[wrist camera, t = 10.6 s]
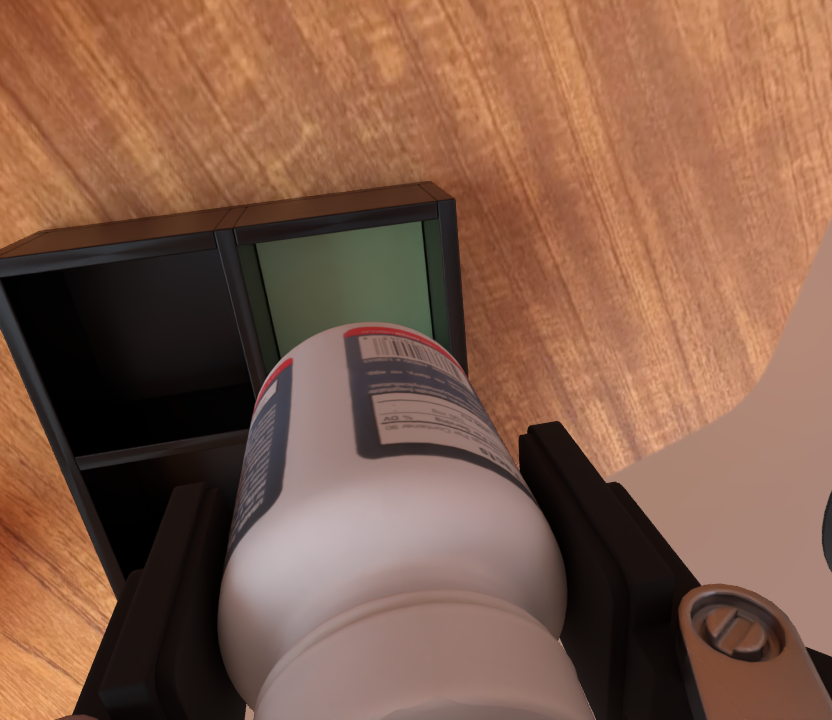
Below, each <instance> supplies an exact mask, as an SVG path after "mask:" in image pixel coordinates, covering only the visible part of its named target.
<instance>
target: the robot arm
mask: <svg viewBox="0 0 832 720" xmlns="http://www.w3.org/2000/svg"><path fill="white" fill-rule="evenodd" d="M519 466H520V473H521V475H522V477H523V479H524V480H525V482H526V484H527V485H528V487H529V489H530V490H531V492H532V494H533V496H534V498H535V499H536V501H537V503H538V505H539V506H540V508H541V510H542V511H543V513H544V515H545V517H546V519H547V521H548V523H549V525H550V528H551V530H552V532H553V534H554V536H555V538H556V541H557V543H558V545H559V548H560V551H561V554H562V557H563V560H564V565H565V570H566V577H567V589H568V594H567V609H566V614H565V620H564V625H563V628H562V631H561V634H560V637H559V638H560V640H561V642H562V644H563V647H564V649H565V651H566V653H567V655H568V656H569V658H570V660H571V661H572V663H573V665H574V667H575V670H576V673H577V677H578V680H579V682H580V684H581V687H582V689H583V691H584V693H585V696H586V698H587V700H588V702H589V705H590V707H591V709H592V711H593V713H594V716H595V718H596V720H832V657H831V656H828V655H826V654H823V653H821V652H818V651H815V650H813V649H810V648H808V647H805V646H804V644H803V642H802V640H801V638H800V636H799V634H798V632H797V630H796V628H795V626H794V625H793V624H792V622H791V621H790V619H789V618H788V616H787V615H786V614H785V613H784V612H783V611H782V610H781V609H779V608H778V607H777V606H776V605H775V604H774V603H772V602H771V601H769V600H768V599H766V598H764V597H762V596H761V595H759V594H757V593H755V592H753V591H750V590H747V589H744V588H741V587H738V586H732V585H725V584H709V585H703V586H701V585H700V583H699V582H698V581H697V579H696V578H695V577H694V576H693V574H692V573H691V572H690V570H689V569H688V568H687V567H686V565H685V564H684V563H683V562H682V560H681V559H680V558H679V557H678V555H677V554H676V553H675V552H674V550H673V549H672V548H671V546H670V545H669V544H668V543H667V541H666V540H665V539H664V538H663V536H662V535H661V534H660V532H659V531H658V530H657V529H656V527H655V526H654V525H653V524H652V522H651V521H650V520H649V518H648V517H647V516H646V515H645V514H644V512H643V511H642V510H641V508H640V507H639V506H638V505H637V503H636V502H635V501H634V500H633V498H632V497H631V496H630V495H629V493H628V492H627V491H626V489H625V488H624V487H623V486H622V485H621V484H620V483H617V482H611V483H606V482H605V481H604V480H603V478H602V477H601V476H600V474H599V473H598V472H597V470H596V469H595V468H594V466H593V465H592V464H591V462H590V461H589V460H588V458H587V457H586V456H585V454H584V453H583V452H582V450H581V449H580V448H579V446H578V445H577V444H576V442H575V441H574V440H573V438H572V437H571V436H570V434H569V433H568V432H567V430H566V429H565V428H564V426H563V425H562V424H561V423H560V422H559V421H554V422H548V423H542V424H537V425H531V426H529V427H528V430H527V434H524V435H520V436H519ZM231 522H232V517H231V514H230V510H229V507H228V504H227V500H226V497H225V494H224V491H223V489H222V488H221V487H219V488H212V485H211V484H210V482H208V481H206V482H200V483H194V484H189V485H183V486H177V487H175V488H174V490H173V492H172V494H171V497H170V500H169V503H168V505H167V508H166V511H165V513H164V516H163V519H162V521H161V524H160V527H159V529H158V532H157V535H156V537H155V540H154V543H153V546H152V548H151V551H150V554H149V556H148V559H147V562H146V564H145V567H144V569H139V570H134V571H133V572H132V573H130V574H129V576H128V578H127V580H126V581H125V584H124V586H123V589H122V591H121V594H120V596H119V599H118V601H117V604H116V606H115V609H114V611H113V614H112V616H111V619H110V621H109V624H108V626H107V629H106V631H105V634H104V636H103V639H102V641H101V644H100V646H99V649H98V651H97V654H96V656H95V659H94V661H93V664H92V666H91V669H90V671H89V674H88V676H87V679H86V681H85V684H84V686H83V689H82V691H81V694H80V696H79V699H78V701H77V704H76V706H75V709H74V711H73V714H72V715H70V716H65V717H62V718H59V719H56V720H245V712H246V702H245V701H244V700H243V698H242V697H241V696H240V695H239V693H238V692H237V691H236V689H235V687H234V685H233V683H232V681H231V680H230V678H229V676H228V673H227V671H226V668H225V665H224V663H223V660H222V656H221V652H220V647H219V642H218V632H217V622H218V605H219V597H220V587H221V580H222V574H223V568H224V562H225V557H226V552H227V546H228V541H229V531H230V528H231Z"/></svg>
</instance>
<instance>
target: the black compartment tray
mask: <svg viewBox="0 0 832 720" xmlns="http://www.w3.org/2000/svg"><path fill="white" fill-rule="evenodd" d="M360 322H383V323H392V324H396V325H401V326H404V327H407V328H410V329H413V330H416V331H418V332H420V333H422V334H424V335H426V336H428V337H430V338H431V339H433V340H434V341H435V342H437V343H438V344H440V345H441V346H442V347H443V348H445V349H446V350H447V351H448V352H449V353H450V354H451V355H452V356H453V357H454V359H455V360H456V361H457V362H458V364H459V365H460V366H461V368H462V369H463V371H464V373H465V374H466V376H467V378H468V365H467V351H466V338H465V324H464V310H463V297H462V283H461V269H460V256H459V242H458V228H457V215H456V201H455V198H453V197H452V196H451V195H449V194H448V193H446V192H445V191H444V190H442V189H441V188H439V187H438V186H437V185H435V184H434V183H433V182H431V181H426V182H418V183H411V184H403V185H395V186H387V187H380V188H372V189H364V190H356V191H348V192H341V193H333V194H325V195H317V196H310V197H302V198H294V199H286V200H278V201H271V202H263V203H255V204H247V205H239V206H232V207H224V208H216V209H208V210H201V211H193V212H185V213H177V214H169V215H162V216H154V217H146V218H138V219H131V220H123V221H115V222H107V223H99V224H92V225H84V226H76V227H68V228H61V229H53V230H45V231H38V232H36V233H34V234H32V235H30V236H28V237H26V238H23V239H21V240H19V241H17V242H15V243H13V244H10V245H8V246H6V247H4V248H2V249H0V329H1V331H2V333H3V336H4V338H5V340H6V343H7V345H8V347H9V350H10V352H11V354H12V357H13V359H14V361H15V364H16V366H17V368H18V371H19V373H20V375H21V378H22V380H23V382H24V385H25V387H26V389H27V392H28V394H29V396H30V399H31V401H32V403H33V406H34V408H35V410H36V413H37V415H38V417H39V420H40V422H41V424H42V427H43V429H44V431H45V434H46V436H47V438H48V440H49V443H50V445H51V447H52V450H53V452H54V454H55V457H56V459H57V461H58V464H59V466H60V468H61V471H62V473H63V475H64V478H65V480H66V482H67V485H68V487H69V489H70V492H71V494H72V496H73V499H74V501H75V503H76V506H77V508H78V510H79V513H80V515H81V517H82V520H83V522H84V524H85V527H86V529H87V531H88V534H89V536H90V538H91V541H92V543H93V545H94V548H95V550H96V552H97V555H98V557H99V559H100V561H101V564H102V566H103V568H104V571H105V573H106V575H107V578H108V580H109V582H110V585H111V587H112V589H113V592H114V594H115V596H116V599H117V601H118V599H119V596H120V594H121V591H122V589H123V586H124V584H125V581H126V580H127V578H128V576H129V574H130V573H132V572H133V571H134V570H139V569H144V567H145V564H146V562H147V559H148V556H149V554H150V551H151V548H152V546H153V543H154V540H155V537H156V535H157V532H158V529H159V527H160V524H161V521H162V519H163V516H164V513H165V511H166V508H167V505H168V503H169V500H170V497H171V494H172V492H173V490H174V488H175V487H177V486H183V485H189V484H194V483H200V482H206V481H208V482H210V484H211V485H212V488H219V487H221V488H222V489H223V491H224V494H225V497H226V500H227V504H228V507H229V510H230V514H231V517H232V518H233V511H234V508H235V501H236V497H237V492H238V487H239V482H240V477H241V471H242V466H243V461H244V455H245V450H246V445H247V440H248V435H249V431H250V426H251V420H252V416H253V412H254V408H255V404H256V401H257V398H258V395H259V392H260V390H261V388H262V386H263V384H264V382H265V380H266V378H267V377H268V375H269V374H270V372H271V371H272V370H273V368H274V367H275V366H276V365H277V363H278V362H279V361H280V360H281V359H282V358H283V357H284V356H285V355H286V354H287V353H289V352H290V351H291V350H292V349H293V348H295V347H296V346H298V345H299V344H301V343H302V342H304V341H305V340H307V339H309V338H310V337H312V336H314V335H316V334H318V333H320V332H323V331H326V330H328V329H331V328H334V327H338V326H342V325H346V324H352V323H360ZM468 379H469V378H468Z"/></svg>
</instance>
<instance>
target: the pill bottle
mask: <svg viewBox="0 0 832 720" xmlns="http://www.w3.org/2000/svg"><path fill="white" fill-rule="evenodd" d="M567 594H568V589H567V577H566V570H565V565H564V560H563V557H562V554H561V551H560V548H559V545H558V543H557V541H556V538H555V536H554V534H553V532H552V530H551V528H550V525H549V523H548V521H547V519H546V517H545V515H544V513H543V511H542V510H541V508H540V506H539V505H538V503H537V501H536V499H535V498H534V496H533V494H532V492H531V490H530V489H529V487H528V485H527V484H526V482H525V480H524V479H523V477H522V475H521V473H520V472H519V470H518V468H517V466H516V464H515V462H514V461H513V459H512V457H511V455H510V454H509V452H508V450H507V448H506V446H505V445H504V443H503V441H502V439H501V437H500V435H499V434H498V432H497V430H496V428H495V427H494V425H493V423H492V421H491V419H490V418H489V416H488V414H487V412H486V410H485V409H484V407H483V405H482V403H481V401H480V400H479V398H478V396H477V394H476V392H475V390H474V388H473V387H472V385H471V383H470V381H469V379H468V378H467V376H466V374H465V373H464V371H463V369H462V368H461V366H460V365H459V364H458V362H457V361H456V360H455V359H454V357H453V356H452V355H451V354H450V353H449V352H448V351H447V350H446V349H445V348H443V347H442V346H441V345H440V344H438V343H437V342H435V341H434V340H433V339H431V338H430V337H428V336H426V335H424V334H422V333H420V332H418V331H416V330H413V329H410V328H407V327H404V326H401V325H396V324H392V323H383V322H360V323H352V324H346V325H342V326H338V327H334V328H331V329H328V330H326V331H323V332H320V333H318V334H316V335H314V336H312V337H310V338H309V339H307V340H305V341H304V342H302V343H301V344H299V345H298V346H296V347H295V348H293V349H292V350H291V351H290V352H289V353H287V354H286V355H285V356H284V357H283V358H282V359H281V360H280V361H279V362H278V363H277V365H276V366H275V367H274V368H273V370H272V371H271V372H270V374H269V375H268V377H267V378H266V380H265V382H264V384H263V386H262V388H261V390H260V392H259V395H258V398H257V401H256V404H255V408H254V412H253V416H252V420H251V426H250V431H249V435H248V440H247V445H246V450H245V455H244V461H243V466H242V471H241V477H240V482H239V487H238V492H237V497H236V501H235V508H234V511H233V518H232V522H231V528H230V531H229V541H228V546H227V552H226V557H225V562H224V568H223V574H222V580H221V587H220V597H219V605H218V622H217V632H218V642H219V647H220V652H221V656H222V660H223V663H224V665H225V668H226V671H227V673H228V676H229V678H230V680H231V681H232V683H233V685H234V687H235V689H236V691H237V692H238V693H239V695H240V696H241V697H242V698H243V700H244V701H245V702H246V703H247V705H248V706H249V707H250V708H251V709H252V710H253V711H254V712H255V713H254V720H595V719H594V716H593V714H592V711H591V709H590V707H589V705H588V702H587V700H586V697H585V695H584V693H583V690H582V688H581V686H580V683H579V681H578V677H577V673H576V670H575V667H574V665H573V663H572V661H571V660H570V658H569V656H568V655H567V653H566V652H565V650H564V649H563V647H562V646H561V645H560V643H558V640H559V637H560V634H561V631H562V628H563V625H564V620H565V614H566V609H567Z"/></svg>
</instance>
